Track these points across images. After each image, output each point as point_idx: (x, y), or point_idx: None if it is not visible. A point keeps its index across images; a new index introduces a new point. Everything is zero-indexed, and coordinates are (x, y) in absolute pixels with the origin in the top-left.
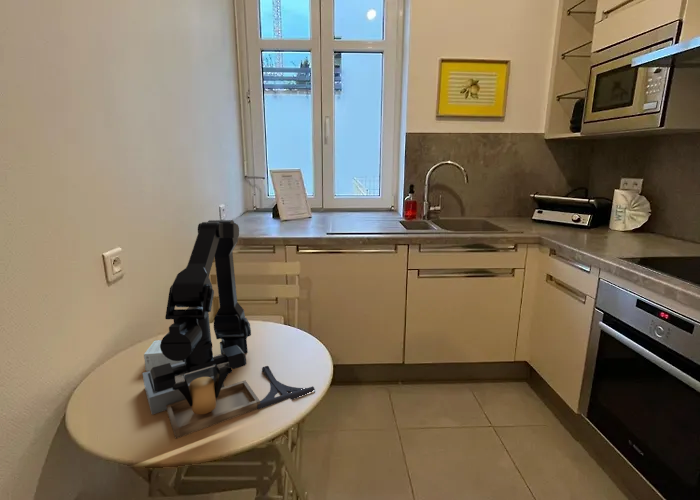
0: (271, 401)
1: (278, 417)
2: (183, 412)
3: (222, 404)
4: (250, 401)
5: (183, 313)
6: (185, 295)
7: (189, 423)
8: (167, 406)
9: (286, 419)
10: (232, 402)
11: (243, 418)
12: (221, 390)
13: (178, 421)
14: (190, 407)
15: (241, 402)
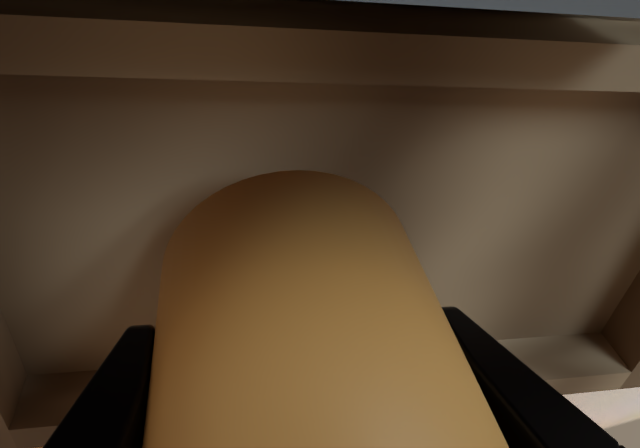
0: None
1: (601, 393)
2: (67, 133)
3: (456, 208)
4: (623, 275)
5: None
6: None
7: (120, 311)
8: None
9: (610, 413)
10: (532, 223)
11: None
12: (584, 86)
13: (13, 246)
14: (160, 82)
15: (575, 259)
